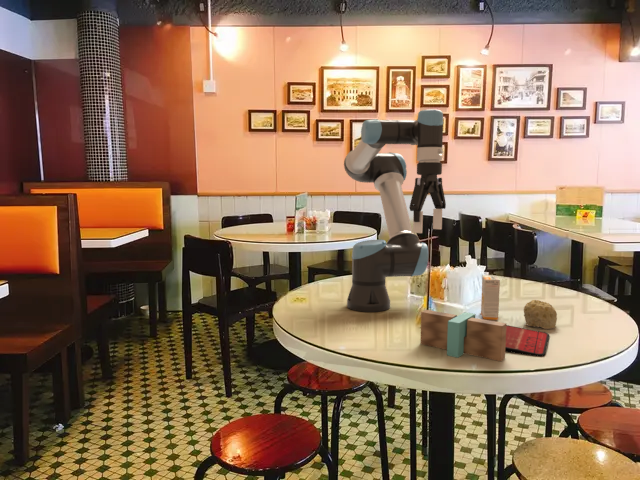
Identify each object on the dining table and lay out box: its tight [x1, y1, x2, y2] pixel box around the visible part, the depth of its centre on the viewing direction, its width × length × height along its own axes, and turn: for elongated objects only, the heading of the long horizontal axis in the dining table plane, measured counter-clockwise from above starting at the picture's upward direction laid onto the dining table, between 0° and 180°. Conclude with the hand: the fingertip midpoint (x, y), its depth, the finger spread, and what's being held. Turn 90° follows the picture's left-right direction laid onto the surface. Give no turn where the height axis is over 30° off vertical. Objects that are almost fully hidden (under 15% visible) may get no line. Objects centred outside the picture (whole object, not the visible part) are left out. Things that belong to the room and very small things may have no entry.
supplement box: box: [480, 274, 501, 321], centre depth 167 cm, size 8×5×13 cm, turn 168°
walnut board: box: [420, 309, 508, 362], centre depth 135 cm, size 22×3×9 cm, turn 52°
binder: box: [505, 324, 550, 358], centre depth 143 cm, size 16×2×21 cm
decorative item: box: [523, 299, 558, 330], centre depth 158 cm, size 10×10×10 cm
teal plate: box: [446, 311, 477, 358], centre depth 135 cm, size 11×3×9 cm, turn 142°
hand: (427, 231), depth 160 cm, fingers open, 13 cm apart
